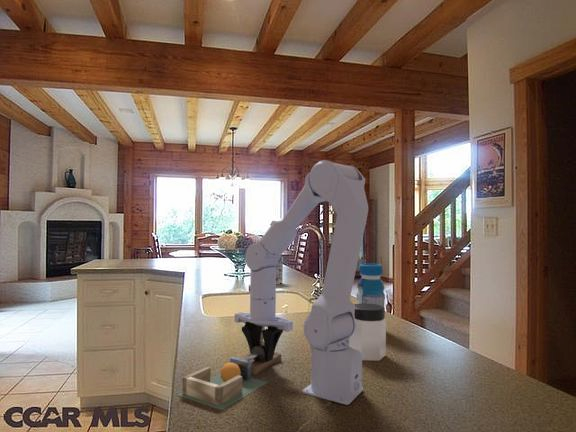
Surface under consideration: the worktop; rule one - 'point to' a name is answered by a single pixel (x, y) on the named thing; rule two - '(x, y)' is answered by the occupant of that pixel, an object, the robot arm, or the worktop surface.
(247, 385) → the mat
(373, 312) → the jar
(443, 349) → the worktop surface
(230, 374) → the ball
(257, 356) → the dark grey round-headed part
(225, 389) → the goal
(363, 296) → the beverage bottle
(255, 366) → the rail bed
